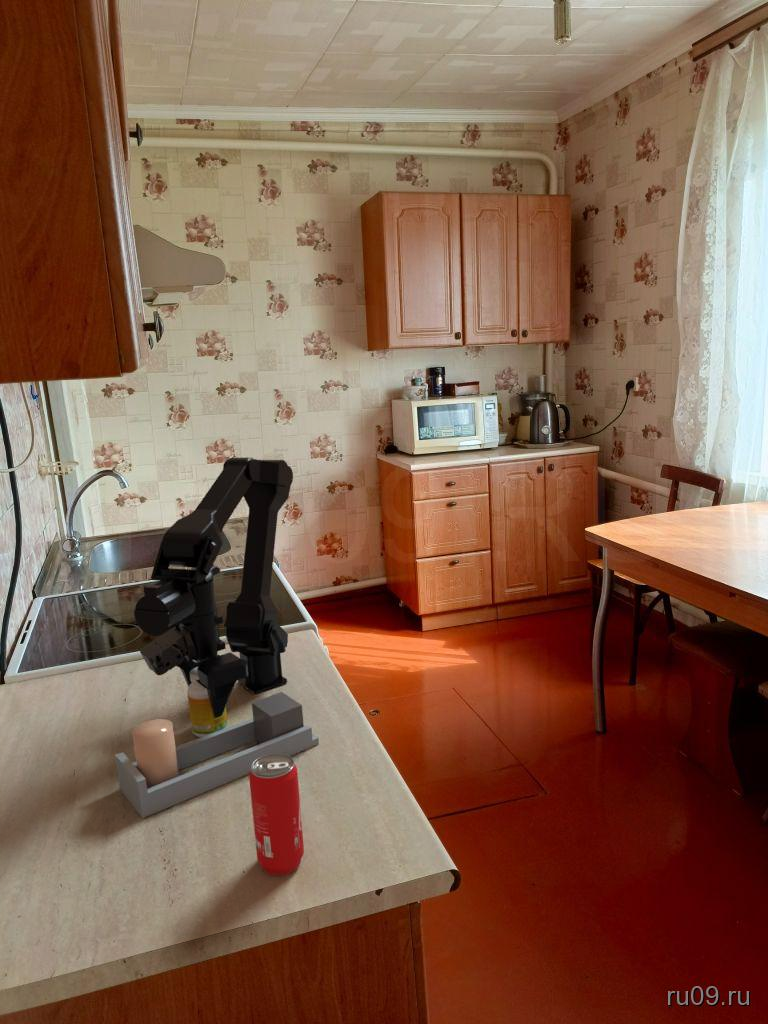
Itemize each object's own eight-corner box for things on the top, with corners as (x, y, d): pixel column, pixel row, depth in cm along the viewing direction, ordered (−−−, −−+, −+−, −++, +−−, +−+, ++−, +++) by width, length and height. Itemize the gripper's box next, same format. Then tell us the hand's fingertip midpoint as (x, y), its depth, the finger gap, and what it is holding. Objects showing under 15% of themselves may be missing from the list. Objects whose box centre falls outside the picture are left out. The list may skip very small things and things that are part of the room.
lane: (288, 723, 114) (286, 693, 113) (318, 744, 107) (316, 712, 106) (120, 788, 99) (115, 754, 97) (142, 818, 92) (137, 782, 91)
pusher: (284, 728, 112) (281, 691, 111) (304, 743, 107) (301, 705, 106) (255, 740, 109) (251, 702, 108) (274, 755, 104) (271, 716, 103)
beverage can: (259, 849, 85) (250, 754, 82) (305, 844, 85) (297, 750, 83) (256, 880, 80) (246, 780, 77) (304, 875, 80) (295, 775, 78)
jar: (171, 776, 101) (163, 715, 99) (186, 791, 97) (178, 728, 95) (135, 790, 98) (126, 728, 96) (149, 806, 94) (140, 742, 92)
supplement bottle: (219, 739, 110) (212, 679, 108) (185, 737, 111) (178, 677, 109) (233, 721, 115) (227, 663, 113) (201, 720, 116) (194, 662, 114)
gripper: (121, 609, 112) (133, 704, 115) (168, 643, 97) (181, 750, 100) (190, 592, 118) (200, 682, 122) (244, 621, 104) (254, 723, 107)
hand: (207, 708), depth 113 cm, fingers open, 7 cm apart
